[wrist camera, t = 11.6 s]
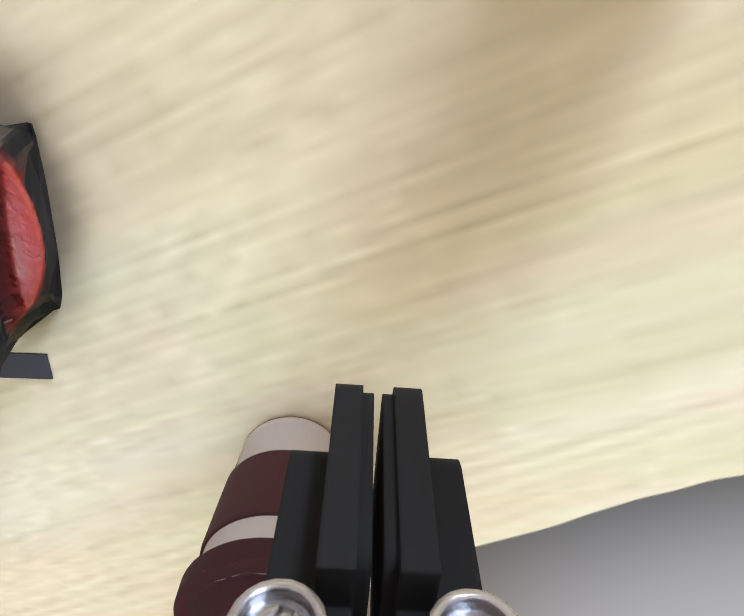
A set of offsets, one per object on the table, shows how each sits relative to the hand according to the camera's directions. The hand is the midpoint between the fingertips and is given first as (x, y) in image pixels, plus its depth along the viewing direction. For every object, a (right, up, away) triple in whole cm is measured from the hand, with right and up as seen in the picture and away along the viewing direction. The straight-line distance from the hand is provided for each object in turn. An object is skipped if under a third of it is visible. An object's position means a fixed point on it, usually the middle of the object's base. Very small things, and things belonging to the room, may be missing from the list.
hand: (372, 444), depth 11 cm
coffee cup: (-6, -8, +32) cm, 33 cm away
